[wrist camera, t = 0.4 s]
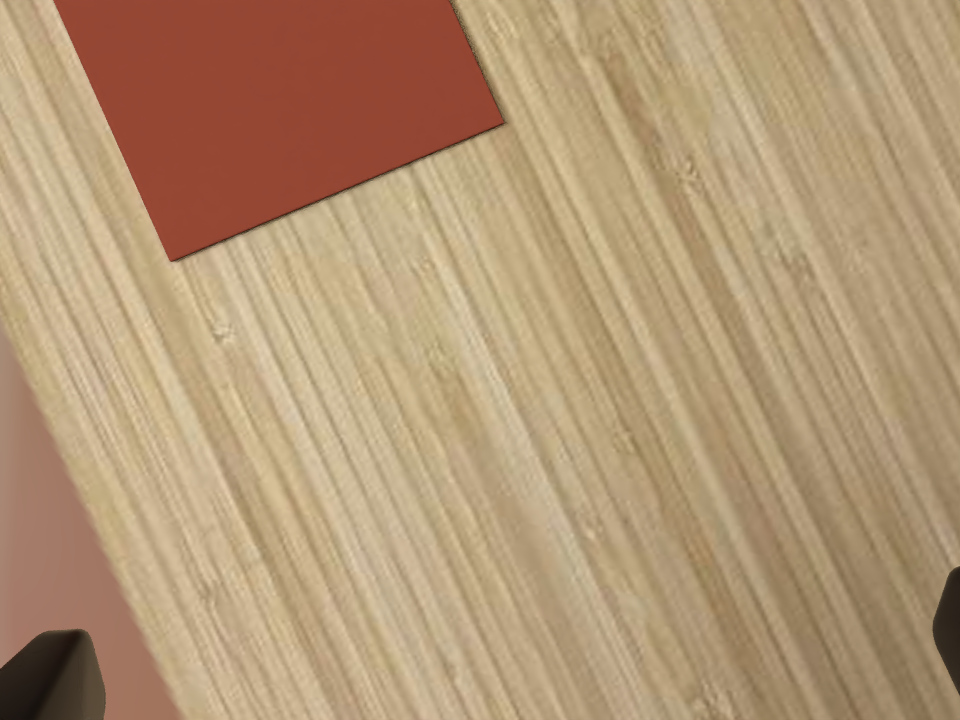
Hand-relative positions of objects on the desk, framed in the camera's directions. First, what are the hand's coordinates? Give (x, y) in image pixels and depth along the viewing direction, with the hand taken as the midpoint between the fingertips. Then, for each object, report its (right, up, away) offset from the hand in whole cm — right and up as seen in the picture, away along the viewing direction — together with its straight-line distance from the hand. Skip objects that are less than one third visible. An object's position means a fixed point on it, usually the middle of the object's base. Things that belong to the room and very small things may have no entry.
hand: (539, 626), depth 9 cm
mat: (-8, +15, +15) cm, 22 cm away
